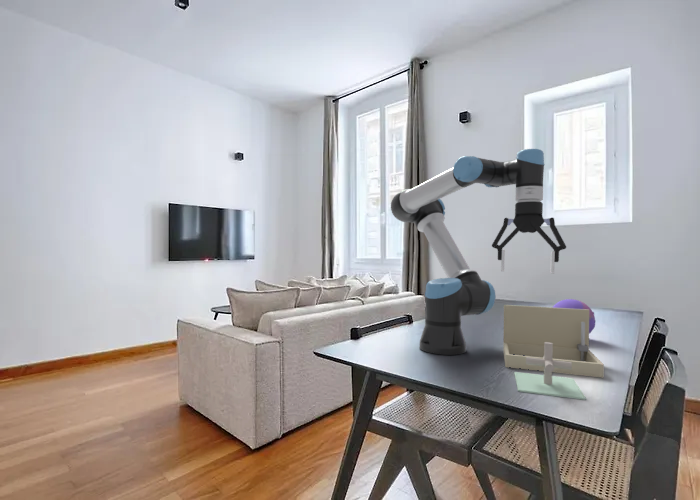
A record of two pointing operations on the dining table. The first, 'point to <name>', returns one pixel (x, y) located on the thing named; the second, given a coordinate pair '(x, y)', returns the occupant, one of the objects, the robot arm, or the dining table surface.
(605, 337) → the dining table surface
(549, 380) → the pipe connector
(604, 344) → the dining table surface
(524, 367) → the case
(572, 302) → the decorative ball
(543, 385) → the mat
